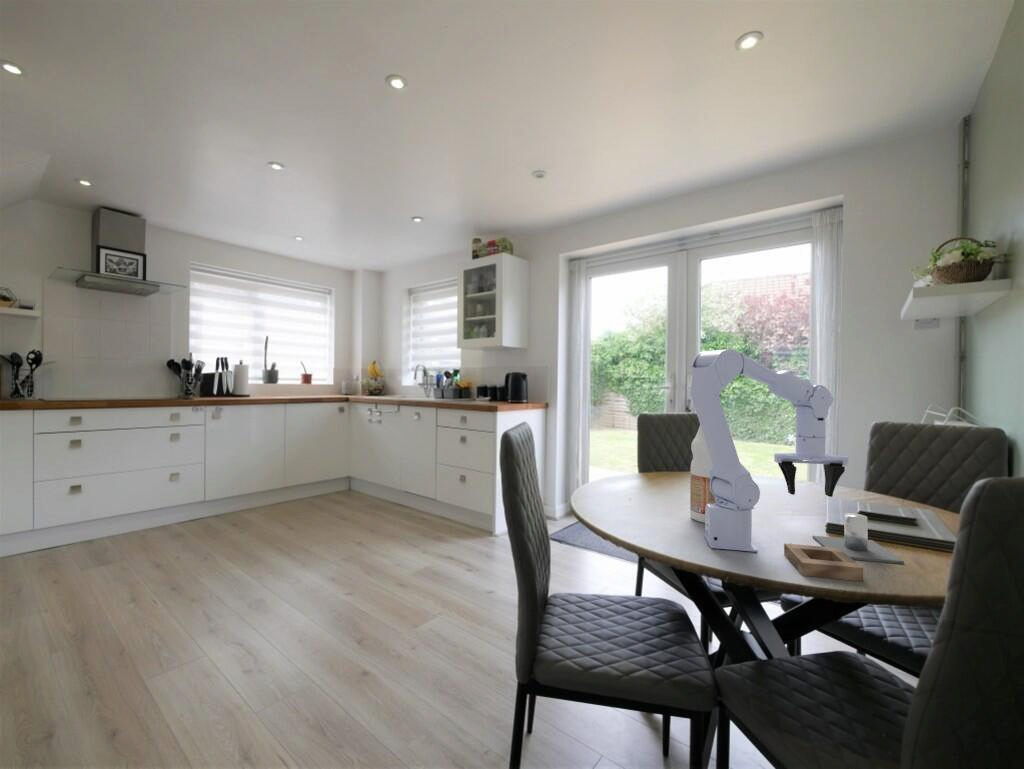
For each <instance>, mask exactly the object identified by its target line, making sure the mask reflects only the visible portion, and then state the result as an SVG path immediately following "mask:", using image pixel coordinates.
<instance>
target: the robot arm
mask: <svg viewBox="0 0 1024 769" xmlns="http://www.w3.org/2000/svg"><path fill="white" fill-rule="evenodd" d="M689 368H690V371H691V374H692V375H691V384H690V393H689V394H690V397H691V400H692V403H693V406H694V410H695V412H696V416H697V419H698V422H699V426H700V425H701V428H702V432H703V435H704V438H705V441H706V444H707V447H708V450H709V453H710V457H711V460H712V463H713V467H712V468H711V469H710V470H709V475H710V491H711V493H712V494H713V495H714V496H715V501H716V503H714V504H706V507H705V523H704V538H705V539H706V542H707V544H708V545H709V547H710V548H711V549H721V550H731V551H744V552H753V553H755V552H756V553H757V552H758V548H757V547H756V546H755V544H754V543H753V542H752V532H753V531H752V530H753V529H752V525H753V524H752V523H753V522H752V518H753V517H752V516H753V514H752V513H753V512H752V511H753V510H754V509H755V508H754V507H755V505H757V504H758V503H759V500H760V497H761V489H760V488H759V485H758V484H757V483H756V482H755V480H753V478H752V475H751V472H750V471H749V470H748V469H747V468H746V467H745V466H744V465H743V464H742V463H741V462H740V459H739V456H738V453H737V449H736V446H735V443H734V440H733V437H732V433H731V430H730V426H729V424H728V421H727V418H726V414H725V412H724V408H723V405H722V401H721V398H720V395H721V393H722V392H723V390H724V389H725V388H726V387H727V386H728V385H730V383H731V382H733V380H734V379H736V378H737V377H738V376H739V375H741V376H744V377H746V378H749V379H751V380H753V381H756V382H759V383H761V384H764V385H766V386H767V388H768V391H769V392H770V393H771V394H773V395H775V396H777V397H780V398H781V399H784V400H786V401H788V402H790V404H791V406H793V408H796V411H795V414H796V416H795V417H796V419H795V424H796V425H795V452H790V453H789V452H788V453H787V452H785V453H782V452H781V453H778V452H777V453H776V452H774V454H773V456H774V461H773V462H775V463H777V464H778V466H779V469H780V471H781V472H782V475H783V477H784V481H785V483H786V486H787V487H786V488H787V491H788V493H789V494H790V495H793V496H795V494H796V473H797V470H798V468H797V467H796V465H795V464H811V465H813V464H814V465H815V464H816V465H823V472H824V494H825V496H828V497H830V498H832V497H833V496H834V491H835V489H836V485H837V484H838V482H839V480H840V477H842V475H843V474H844V473H845V469H846V467H845V466H849V457H848V456H846V455H838V454H837V455H834V454H826V437H827V436H826V434H827V432H826V429H827V428H826V426H827V425H826V424H827V422H826V421H827V420H826V418H827V417H828V415H829V409H830V408H831V406H832V404H833V401H834V396H832V393H831V391H830V390H829V389H828V388H827V387H826V386H824V385H822V384H813V383H812V382H811V380H809V379H808V378H802V377H799V376H797V375H796V374H795V372H794V371H793V370H790V369H789V370H787V369H786V370H779V371H775V370H773V369H770V368H769V367H767V366H765V365H763V364H762V363H759V362H758V361H756V360H755V359H753V358H750V357H749V356H747V354H746V353H745V352H744V353H743V352H740V351H737V350H736V349H734V348H727V349H726V348H725V349H721V350H720V349H719V350H710V351H708V350H703V351H700V352H699V353H698V354H696V356H695V357H694V359H693V361H692V362H691V364H690V365H689Z"/></svg>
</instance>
